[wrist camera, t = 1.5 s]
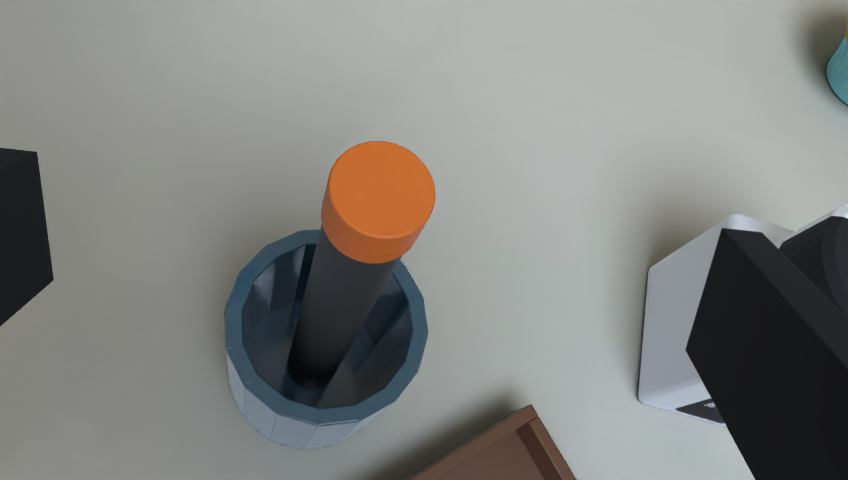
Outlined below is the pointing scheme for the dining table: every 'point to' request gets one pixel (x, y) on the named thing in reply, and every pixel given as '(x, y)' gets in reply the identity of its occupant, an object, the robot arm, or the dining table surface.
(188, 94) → the dining table surface
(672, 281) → the container
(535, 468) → the tray
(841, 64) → the cupcake
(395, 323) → the pen cup
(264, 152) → the dining table surface
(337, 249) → the marker
